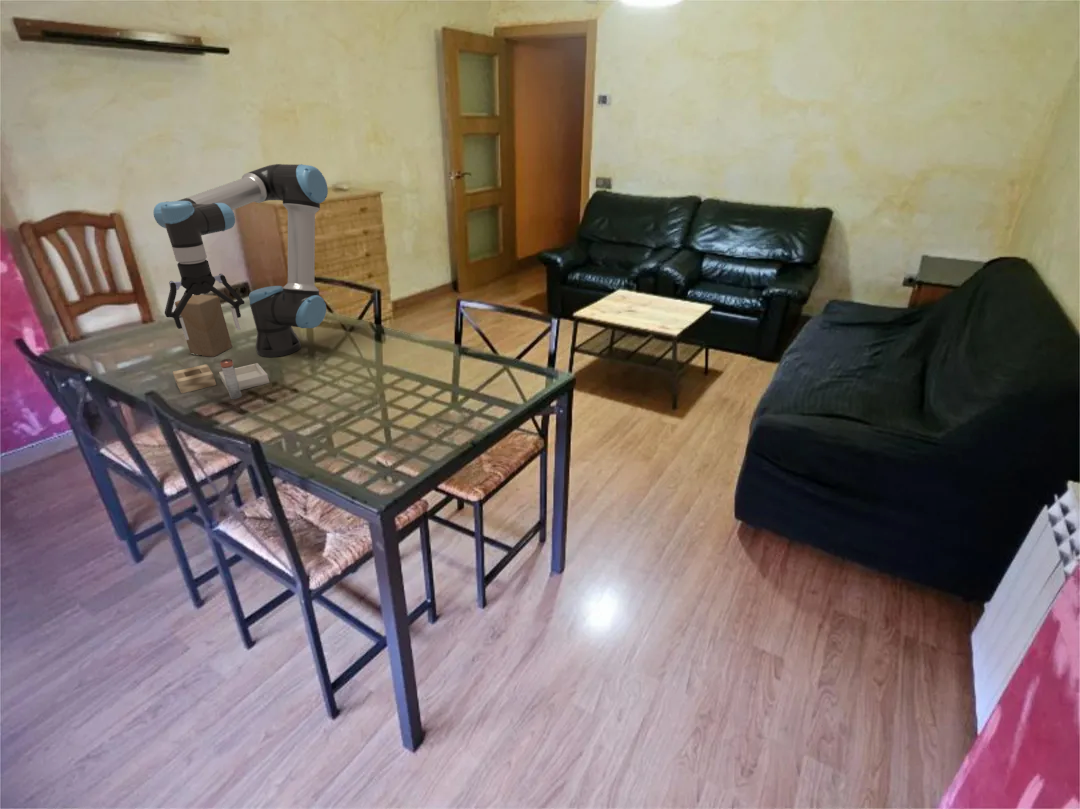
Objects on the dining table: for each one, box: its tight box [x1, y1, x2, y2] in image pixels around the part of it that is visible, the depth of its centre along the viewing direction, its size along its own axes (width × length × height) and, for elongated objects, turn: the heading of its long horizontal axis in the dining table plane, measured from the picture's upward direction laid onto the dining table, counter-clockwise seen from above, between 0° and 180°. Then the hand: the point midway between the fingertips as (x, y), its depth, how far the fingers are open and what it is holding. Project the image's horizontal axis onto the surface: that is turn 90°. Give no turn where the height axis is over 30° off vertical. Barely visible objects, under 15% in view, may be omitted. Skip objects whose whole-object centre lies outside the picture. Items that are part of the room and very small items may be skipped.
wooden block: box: [174, 294, 233, 358], centre depth 204 cm, size 10×10×20 cm
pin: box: [219, 358, 243, 400], centre depth 172 cm, size 3×3×12 cm
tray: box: [218, 362, 270, 391], centre depth 184 cm, size 12×12×3 cm
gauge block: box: [172, 363, 217, 394], centre depth 182 cm, size 10×10×4 cm
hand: (213, 333), depth 165 cm, fingers open, 13 cm apart
